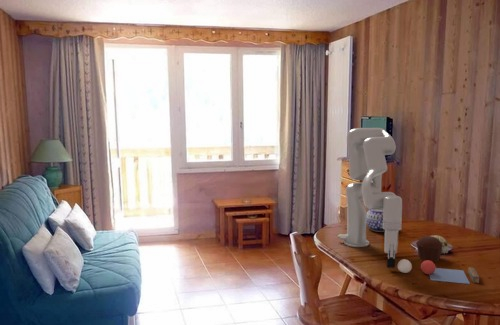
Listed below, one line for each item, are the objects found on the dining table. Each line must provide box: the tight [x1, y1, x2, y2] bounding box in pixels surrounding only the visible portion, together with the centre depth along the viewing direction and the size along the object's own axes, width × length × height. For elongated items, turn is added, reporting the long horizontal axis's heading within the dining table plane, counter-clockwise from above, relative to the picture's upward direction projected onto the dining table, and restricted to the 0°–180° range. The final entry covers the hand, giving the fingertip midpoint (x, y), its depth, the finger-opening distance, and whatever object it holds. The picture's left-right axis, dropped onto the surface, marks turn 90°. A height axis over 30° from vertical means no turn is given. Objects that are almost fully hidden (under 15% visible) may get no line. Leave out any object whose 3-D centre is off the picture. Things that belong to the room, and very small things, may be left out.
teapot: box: [366, 209, 385, 233], centre depth 237 cm, size 25×15×15 cm, turn 173°
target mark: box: [428, 267, 471, 285], centre depth 170 cm, size 14×14×1 cm
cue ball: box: [397, 258, 413, 274], centre depth 173 cm, size 6×6×6 cm
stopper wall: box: [467, 267, 480, 284], centre depth 167 cm, size 2×10×2 cm, turn 163°
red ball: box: [420, 260, 437, 275], centre depth 172 cm, size 6×6×6 cm
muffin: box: [415, 235, 443, 262], centre depth 190 cm, size 12×11×10 cm
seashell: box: [432, 235, 449, 255], centre depth 201 cm, size 10×10×10 cm
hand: (390, 266), depth 176 cm, fingers closed
